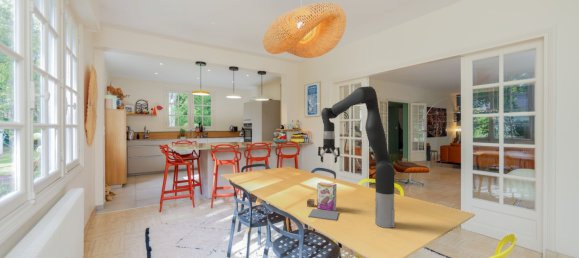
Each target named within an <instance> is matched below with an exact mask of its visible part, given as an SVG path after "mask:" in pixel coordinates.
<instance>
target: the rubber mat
mask: <svg viewBox="0 0 579 258" xmlns="http://www.w3.org/2000/svg"><path fill="white" fill-rule="evenodd" d="M339 214H340V211H337V210H335V211H328V210H322V209H318V208H312V210H311V211H310V213H309V214H308V218H313V219H314V218H315V219H321V220H329V221H337V220H338V217H339Z"/></svg>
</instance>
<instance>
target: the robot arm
mask: <svg viewBox="0 0 579 258" xmlns="http://www.w3.org/2000/svg"><path fill="white" fill-rule="evenodd" d="M377 95H378V94H377V91H376V89H375V88H374V87H373V86H371V85H370V86H360V87H358V88H356V89H354V90H353V91H352V92H351V93H350V94H348V96H346V97H345V98H343V99H341V100H340V101H338V102H336V103H334V104H333V105H332V106H331V107H324V108H322V110H321V112H320V114H321V120H322V124H323V134H322V140H323V142H322V146H318V148H317V150H318V151H317V156H319V157H320V162H321V163H324V155H325V154H329V155H330V154H332V155H333V156H334V164H337V162H338V158H339V157H340V156H341V151H340V149H341V148H340V147H339V146H337V147H336V134H335V133H336V131H335V128H336V127H335V122H333V121H331V119H336V118H337V117H339V116H340V115H341V114H343V113H345V112H347V111H348V110H349V109H350V108H351V107H353V106H356V105H364V104H365V107H366V111H367V117H366V121H365V127H364V128H365V133H366V138H367V141H368V143H369V145H370V148H371V150H372V152H373V155H374V158H375V159H374V160H375V167H376V168H375V177H374V178H375V179H374V181H375V183H374V185H375V187H374V188H375V207H374V208H375V210H374V212H375V213H374V215H375V217H374V218H375V219H374V220H375V225H376V226H379V227H382V228H385V229H386V228H387V229H389V228H395V212H396V210H395V168H394V165H393V162H392V160H391V157H390V154H389V149H388V144H387V135H386V132H385V128H384V124H383V121H382V117H381V113H380V108H379V102H378V96H377ZM322 150H323V151H322ZM335 150H336V151H337V154H336V152H335ZM321 152H322V153H321Z"/></svg>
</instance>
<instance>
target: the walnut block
mask: <svg viewBox="0 0 579 258" xmlns="http://www.w3.org/2000/svg"><path fill="white" fill-rule="evenodd" d="M314 206H315V199H314V198H313V199H312V198H308V199H307V200H306V207H308V208H314Z"/></svg>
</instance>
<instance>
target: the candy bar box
mask: <svg viewBox="0 0 579 258" xmlns="http://www.w3.org/2000/svg"><path fill="white" fill-rule="evenodd" d="M316 192H317V193H316V194H317V199H316V200H317V201H316V207H317V208H316V209H319V210H328V211H337V183H331V182H326V181H325V182H324V181H319V182H317V191H316Z"/></svg>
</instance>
